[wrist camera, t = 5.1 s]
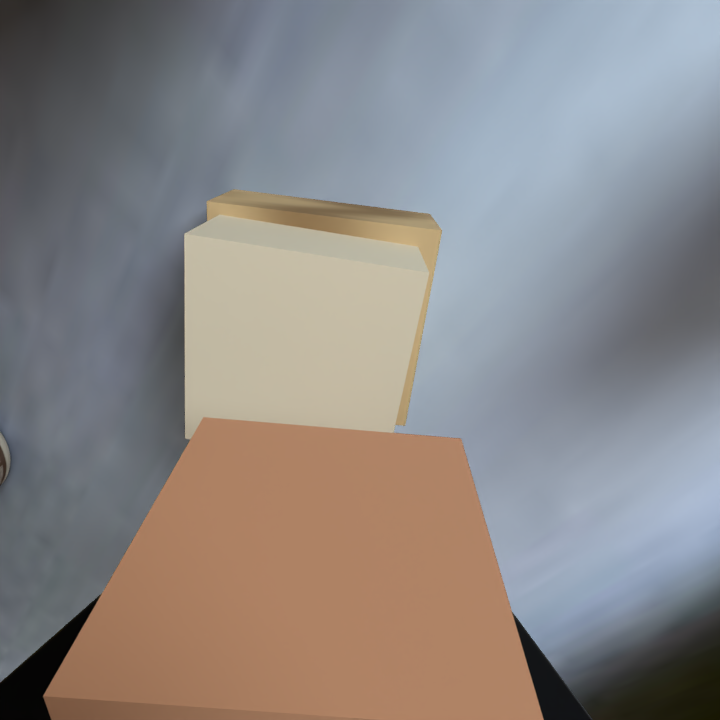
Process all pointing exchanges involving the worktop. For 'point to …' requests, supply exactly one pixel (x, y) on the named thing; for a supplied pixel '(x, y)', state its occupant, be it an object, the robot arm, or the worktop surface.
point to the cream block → (297, 325)
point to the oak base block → (347, 222)
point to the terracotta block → (304, 589)
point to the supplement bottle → (4, 459)
